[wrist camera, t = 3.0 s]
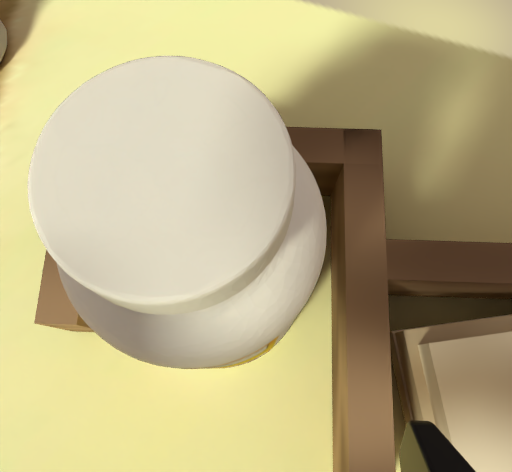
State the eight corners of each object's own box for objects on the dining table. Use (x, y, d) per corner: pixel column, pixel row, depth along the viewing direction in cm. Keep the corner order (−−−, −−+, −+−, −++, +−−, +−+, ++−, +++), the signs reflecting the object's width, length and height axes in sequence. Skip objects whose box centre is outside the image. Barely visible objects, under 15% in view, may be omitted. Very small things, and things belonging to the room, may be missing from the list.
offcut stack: (588, 460, 19) (663, 480, 15) (416, 486, 18) (452, 513, 15) (543, 310, 20) (601, 298, 17) (384, 333, 20) (410, 325, 17)
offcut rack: (661, 513, 18) (755, 546, 14) (50, 487, 18) (3, 514, 15) (600, 173, 22) (663, 137, 18) (96, 158, 22) (67, 120, 19)
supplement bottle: (215, 188, 22) (157, -52, 9) (329, 279, 20) (436, 141, 8) (113, 299, 20) (-114, 190, 8) (229, 403, 19) (173, 465, 7)
